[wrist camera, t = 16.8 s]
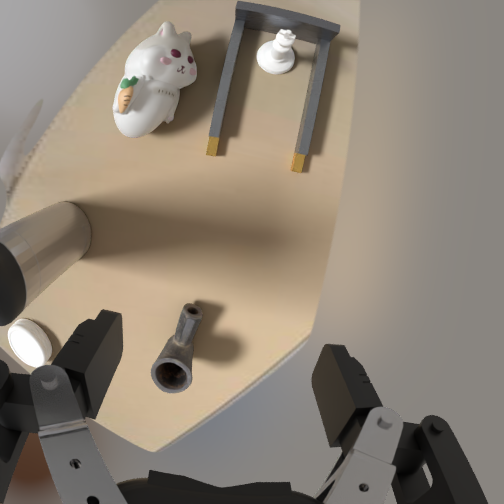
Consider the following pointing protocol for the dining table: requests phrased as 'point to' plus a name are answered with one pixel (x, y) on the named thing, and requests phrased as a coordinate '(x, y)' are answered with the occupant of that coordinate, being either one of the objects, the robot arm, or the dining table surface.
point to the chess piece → (277, 53)
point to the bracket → (273, 23)
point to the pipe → (178, 353)
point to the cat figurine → (154, 81)
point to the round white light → (29, 342)
